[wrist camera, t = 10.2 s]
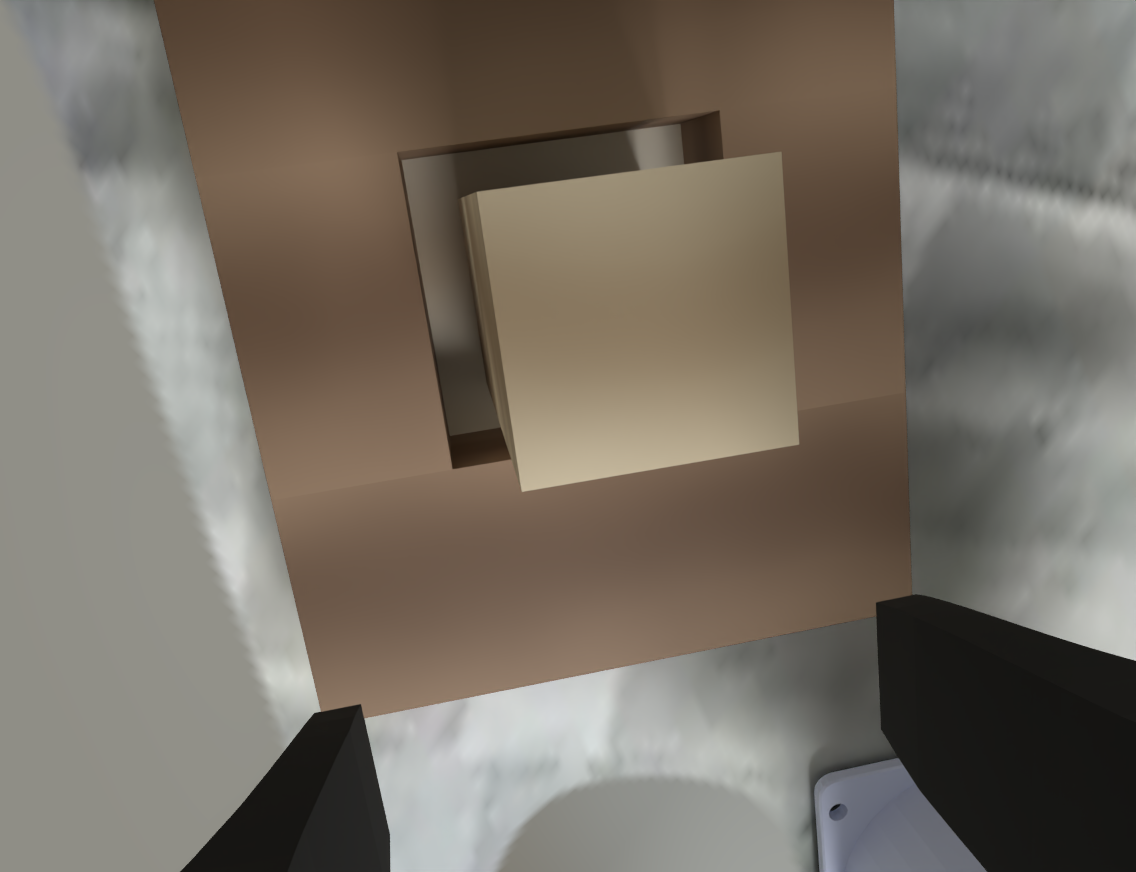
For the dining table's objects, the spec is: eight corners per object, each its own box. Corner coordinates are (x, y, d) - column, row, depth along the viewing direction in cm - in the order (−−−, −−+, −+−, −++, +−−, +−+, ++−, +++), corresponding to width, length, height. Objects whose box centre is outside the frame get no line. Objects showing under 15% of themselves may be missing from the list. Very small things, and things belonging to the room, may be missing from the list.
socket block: (851, 558, 23) (912, 609, 20) (339, 656, 21) (324, 726, 18) (815, -149, 18) (886, -215, 15) (172, -86, 17) (119, -147, 14)
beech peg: (659, 355, 20) (799, 445, 13) (486, 382, 20) (522, 492, 12) (641, 175, 19) (781, 151, 11) (457, 199, 19) (476, 191, 11)
